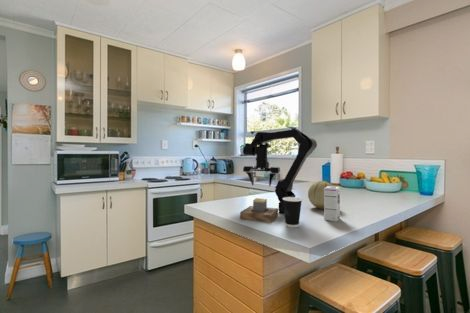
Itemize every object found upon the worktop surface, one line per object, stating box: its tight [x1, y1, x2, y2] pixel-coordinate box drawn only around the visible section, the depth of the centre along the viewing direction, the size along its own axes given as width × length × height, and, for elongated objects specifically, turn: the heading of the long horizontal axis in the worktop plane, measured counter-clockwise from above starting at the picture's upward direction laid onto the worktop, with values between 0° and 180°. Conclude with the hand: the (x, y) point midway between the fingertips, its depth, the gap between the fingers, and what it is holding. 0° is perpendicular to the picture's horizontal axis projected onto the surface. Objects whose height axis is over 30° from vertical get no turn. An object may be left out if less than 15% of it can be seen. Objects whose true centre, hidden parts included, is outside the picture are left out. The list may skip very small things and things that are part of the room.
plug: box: [252, 197, 268, 213], centre depth 116 cm, size 5×5×8 cm
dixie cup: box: [283, 196, 303, 228], centre depth 103 cm, size 8×8×11 cm
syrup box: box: [323, 185, 341, 222], centre depth 113 cm, size 6×6×14 cm
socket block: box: [239, 205, 279, 223], centre depth 116 cm, size 14×14×3 cm
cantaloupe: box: [307, 179, 334, 210], centre depth 134 cm, size 15×15×15 cm
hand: (261, 185), depth 133 cm, fingers open, 9 cm apart
